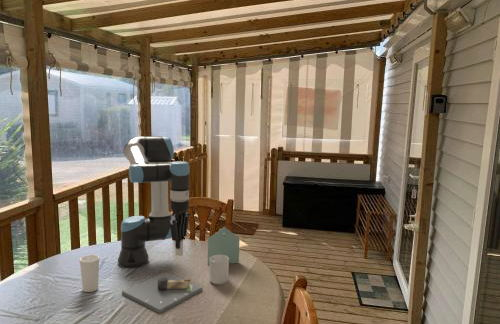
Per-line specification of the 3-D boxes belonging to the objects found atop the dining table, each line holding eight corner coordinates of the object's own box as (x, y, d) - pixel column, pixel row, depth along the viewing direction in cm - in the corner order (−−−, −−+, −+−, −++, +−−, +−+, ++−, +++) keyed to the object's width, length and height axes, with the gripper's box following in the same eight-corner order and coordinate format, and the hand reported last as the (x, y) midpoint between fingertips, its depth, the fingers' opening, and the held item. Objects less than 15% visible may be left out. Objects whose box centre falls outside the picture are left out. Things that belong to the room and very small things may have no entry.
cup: (104, 287, 164) (103, 256, 163) (91, 295, 157) (90, 263, 155) (89, 283, 167) (88, 253, 165) (76, 291, 160) (74, 260, 158)
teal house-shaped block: (236, 257, 203) (237, 222, 200) (238, 263, 195) (239, 226, 192) (206, 258, 200) (207, 222, 197) (207, 264, 192) (208, 227, 190)
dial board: (122, 294, 159) (121, 290, 159) (165, 275, 178) (165, 271, 178) (159, 313, 145) (159, 309, 145) (202, 290, 164) (202, 286, 164)
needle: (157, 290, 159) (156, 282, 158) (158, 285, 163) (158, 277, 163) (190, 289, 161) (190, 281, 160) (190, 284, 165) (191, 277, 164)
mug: (226, 286, 169) (227, 262, 168) (207, 284, 170) (208, 261, 168) (230, 274, 181) (231, 252, 180) (212, 273, 182) (213, 251, 180)
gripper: (179, 204, 144) (178, 262, 147) (195, 197, 156) (194, 251, 159) (162, 202, 147) (162, 259, 150) (180, 195, 159) (179, 248, 162)
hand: (179, 254), depth 155 cm, fingers closed
